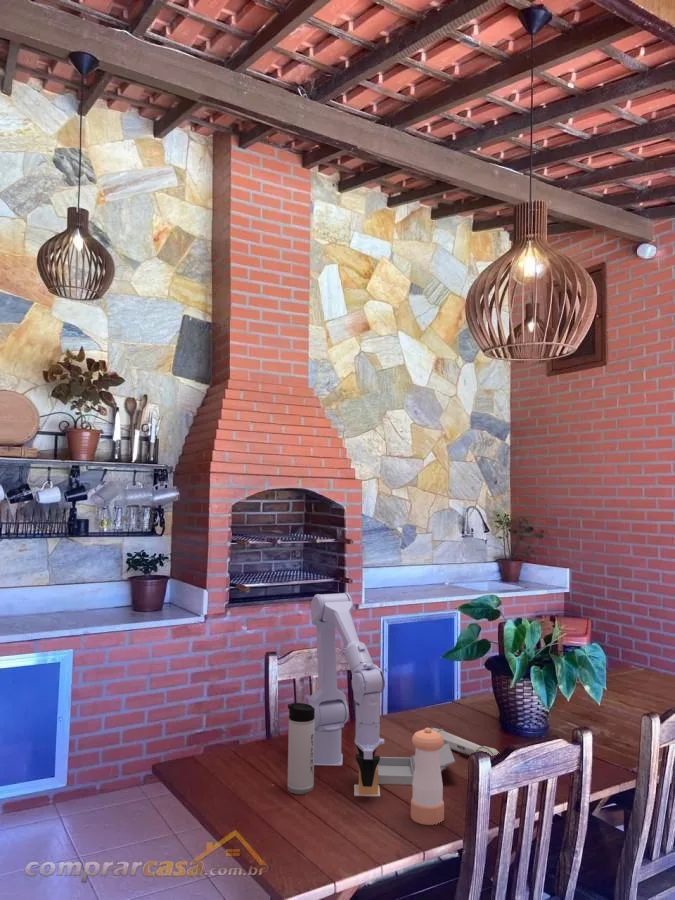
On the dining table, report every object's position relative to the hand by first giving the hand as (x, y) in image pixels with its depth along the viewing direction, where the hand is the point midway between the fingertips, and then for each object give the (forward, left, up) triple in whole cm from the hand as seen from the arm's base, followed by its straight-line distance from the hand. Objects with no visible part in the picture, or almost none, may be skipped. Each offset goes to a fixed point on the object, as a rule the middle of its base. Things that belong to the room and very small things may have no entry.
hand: (366, 779), depth 166 cm
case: (+12, +10, -3) cm, 15 cm away
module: (0, 0, -3) cm, 3 cm away
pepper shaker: (+13, -12, -3) cm, 18 cm away
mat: (0, 0, -3) cm, 3 cm away
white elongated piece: (+24, +23, -1) cm, 34 cm away
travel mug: (-16, +1, -3) cm, 16 cm away
